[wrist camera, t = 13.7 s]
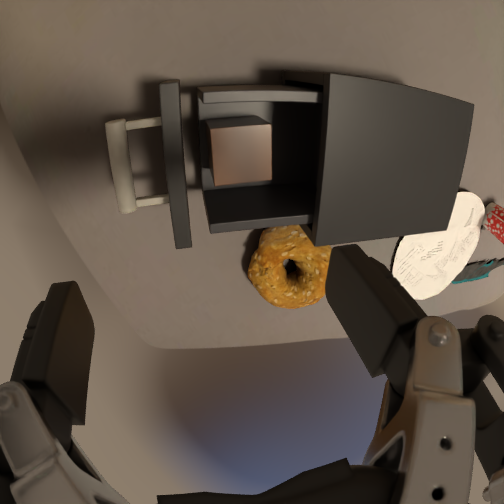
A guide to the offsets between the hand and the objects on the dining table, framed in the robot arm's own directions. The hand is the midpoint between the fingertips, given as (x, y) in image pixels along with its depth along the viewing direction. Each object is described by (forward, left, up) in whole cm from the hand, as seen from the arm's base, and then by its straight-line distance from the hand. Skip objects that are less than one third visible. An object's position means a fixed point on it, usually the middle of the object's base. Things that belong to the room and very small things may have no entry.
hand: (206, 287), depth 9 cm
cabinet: (+16, 0, -21) cm, 26 cm away
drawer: (+3, 0, -20) cm, 20 cm away
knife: (+51, -23, -21) cm, 60 cm away
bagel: (+10, -14, -21) cm, 27 cm away
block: (+4, 0, -19) cm, 19 cm away
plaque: (+36, -16, -21) cm, 45 cm away
